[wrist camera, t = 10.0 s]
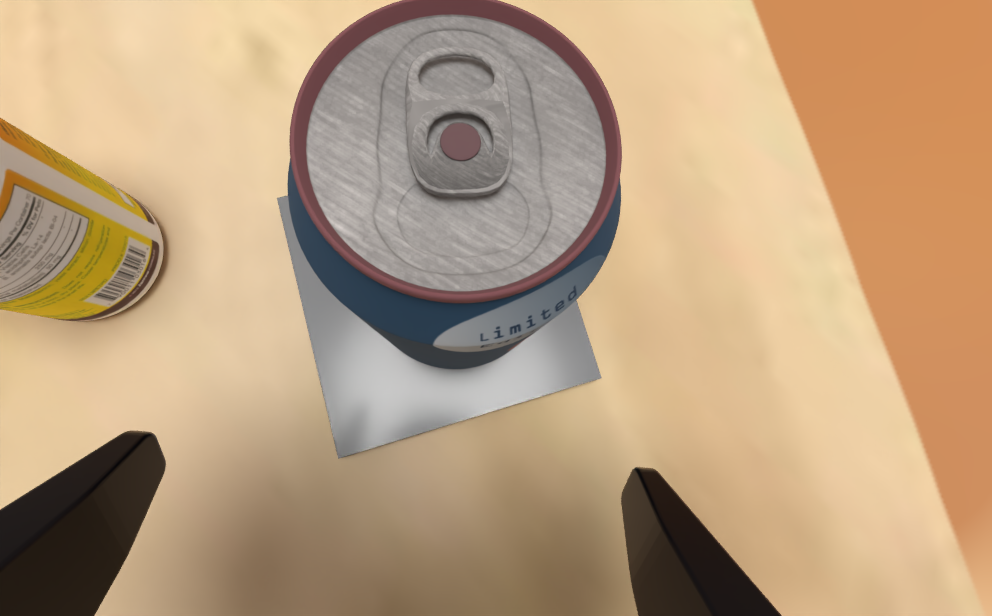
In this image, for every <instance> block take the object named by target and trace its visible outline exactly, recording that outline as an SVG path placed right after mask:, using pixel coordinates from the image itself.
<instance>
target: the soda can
mask: <svg viewBox="0 0 992 616" xmlns="http://www.w3.org/2000/svg"><path fill="white" fill-rule="evenodd" d="M290 157H291V158H290V164H289V171H288V201H289V209H290V214H291V219H292V224H293V227H294V230H295V234H296V237H297V239H298V242H299V244H300V247H301V249H302V251H303V253H304V255H305V257H306V259H307V261H308V263H309V264H310V266H311V268H312V269H313V271H314V272H315V274H316V275H317V276H318V278H319V279H320V281H321V282H322V283H323V284H324V285H325V287H326V288H327V289H328V290H329V291H330V292H331V293H332V294H333V295H334V296H335V297H336V298H337V299H338V300H339V301H340V302H341V303H342V304H343V305H345V306H346V307H347V308H348V309H349V310H351V311H352V312H353V313H354V314H355V315H357V316H358V317H359V318H360V319H362V320H363V321H364V322H365V323H367V324H368V325H369V326H370V327H372V328H373V329H374V330H375V331H377V332H378V333H379V334H380V335H381V336H383V337H384V338H385V339H386V340H388V341H389V342H390V343H391V344H393V345H394V346H395V347H396V348H398V349H399V350H400V351H401V352H403V353H404V354H406V355H407V356H409V357H411V358H413V359H415V360H417V361H419V362H421V363H424V364H427V365H430V366H434V367H438V368H445V369H466V368H472V367H477V366H481V365H484V364H487V363H489V362H492V361H494V360H496V359H498V358H500V357H502V356H503V355H505V354H506V353H508V352H509V351H510V350H512V349H513V348H515V347H516V346H517V345H519V344H520V343H521V342H523V341H524V340H525V339H527V338H528V337H529V336H531V335H532V334H533V333H535V332H536V331H537V330H539V329H540V328H542V327H543V326H544V325H546V324H547V323H548V322H550V321H551V320H552V319H554V318H555V317H556V316H558V315H559V314H560V313H562V312H563V311H564V310H566V309H567V308H568V307H569V306H570V305H571V304H572V303H573V302H574V301H576V300H577V299H578V297H579V296H580V295H581V294H582V293H583V292H584V291H585V290H586V289H587V287H588V286H589V285H590V283H591V282H592V281H593V279H594V278H595V276H596V275H597V273H598V272H599V270H600V269H601V267H602V265H603V263H604V261H605V260H606V257H607V255H608V253H609V251H610V249H611V246H612V243H613V240H614V237H615V234H616V230H617V226H618V221H619V215H620V205H621V186H620V172H621V161H622V147H621V137H620V130H619V125H618V121H617V117H616V113H615V110H614V107H613V104H612V101H611V98H610V96H609V94H608V91H607V89H606V87H605V85H604V83H603V81H602V80H601V78H600V76H599V75H598V73H597V71H596V70H595V68H594V67H593V66H592V64H591V63H590V62H589V60H588V59H587V58H586V57H585V55H584V54H583V53H582V52H581V51H580V50H579V49H578V48H577V47H576V46H575V45H574V44H573V43H572V42H571V41H570V40H569V39H568V38H567V37H566V36H565V35H563V34H562V33H561V32H560V31H558V30H557V29H556V28H554V27H553V26H551V25H550V24H548V23H547V22H545V21H544V20H542V19H540V18H539V17H537V16H535V15H533V14H531V13H529V12H527V11H525V10H523V9H520V8H518V7H516V6H513V5H510V4H507V3H504V2H501V1H498V0H402V1H399V2H395V3H392V4H390V5H387V6H384V7H382V8H380V9H377V10H375V11H373V12H371V13H369V14H367V15H366V16H364V17H362V18H360V19H359V20H357V21H356V22H354V23H353V24H351V25H350V26H349V27H347V28H346V29H345V30H344V31H342V32H341V33H340V34H339V35H338V36H337V37H336V38H335V39H333V40H332V41H331V42H330V43H329V45H328V46H327V47H326V48H325V49H324V50H323V51H322V53H321V54H320V55H319V56H318V58H317V59H316V60H315V62H314V64H313V65H312V67H311V68H310V70H309V72H308V73H307V75H306V77H305V79H304V81H303V83H302V86H301V88H300V90H299V93H298V96H297V99H296V102H295V106H294V110H293V114H292V120H291V127H290Z"/></svg>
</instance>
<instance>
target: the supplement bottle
mask: <svg viewBox="0 0 992 616" xmlns="http://www.w3.org/2000/svg"><path fill="white" fill-rule="evenodd" d="M162 260H163V240H162V235H161V232H160V228H159V226H158V224H157V222H156V220H155V219H154V217H153V216H152V214H151V213H150V212H149V211H148V210H147V209H146V208H145V207H144V206H143V205H142V204H141V203H140V202H138V201H137V200H136V199H134V198H133V197H131V196H130V195H128V194H127V193H125V192H123V191H122V190H120V189H118V188H117V187H115V186H113V185H112V184H110V183H108V182H107V181H105V180H103V179H102V178H100V177H98V176H96V175H95V174H93V173H91V172H90V171H88V170H86V169H85V168H83V167H81V166H80V165H78V164H76V163H75V162H73V161H72V160H70V159H68V158H67V157H65V156H63V155H61V154H60V153H58V152H56V151H55V150H53V149H51V148H50V147H48V146H46V145H45V144H43V143H41V142H40V141H38V140H36V139H34V138H33V137H31V136H29V135H28V134H26V133H24V132H23V131H21V130H20V129H18V128H16V127H15V126H13V125H11V124H9V123H8V122H6V121H5V120H3V119H1V118H0V309H3V310H8V311H14V312H19V313H25V314H31V315H37V316H42V317H48V318H54V319H59V320H68V321H90V320H97V319H102V318H105V317H109V316H111V315H114V314H117V313H119V312H121V311H123V310H125V309H126V308H128V307H130V306H131V305H133V304H134V303H135V302H137V301H138V300H139V299H140V298H141V297H142V296H143V295H144V294H145V293H146V292H147V291H148V290H149V288H150V287H151V286H152V284H153V282H154V281H155V279H156V277H157V275H158V273H159V270H160V267H161V264H162Z"/></svg>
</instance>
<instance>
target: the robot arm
mask: <svg viewBox="0 0 992 616" xmlns="http://www.w3.org/2000/svg"><path fill="white" fill-rule="evenodd" d="M165 466H166V462H165V458H164V455H163V453H162V450H161V448H160V445H159V443H158V440H157V438H156V436H155V435H154V434H153V433H152V432H144V431H127V432H125V433H122V434H121V435H119V436H117V437H116V438H114V439H113V440H111V441H109V442H108V443H106V444H105V445H103V446H101V447H100V448H98V449H97V450H95V451H93V452H92V453H90V454H89V455H87V456H85V457H84V458H82V459H81V460H79V461H77V462H76V463H74V464H73V465H71V466H69V467H68V468H66V469H65V470H63V471H61V472H60V473H58V474H57V475H55V476H53V477H52V478H50V479H49V480H47V481H45V482H44V483H42V484H41V485H39V486H37V487H36V488H34V489H33V490H31V491H29V492H28V493H26V494H25V495H23V496H21V497H20V498H18V499H17V500H15V501H13V502H12V503H10V504H9V505H7V506H5V507H4V508H2V509H1V510H0V616H94V615H95V613H96V612H97V610H98V608H99V606H100V604H101V603H102V601H103V599H104V597H105V596H106V594H107V592H108V590H109V588H110V587H111V585H112V583H113V581H114V580H115V578H116V576H117V574H118V573H119V571H120V569H121V567H122V565H123V563H124V561H125V560H126V558H127V556H128V554H129V551H130V549H131V547H132V545H133V543H134V541H135V538H136V536H137V534H138V532H139V529H140V527H141V525H142V522H143V520H144V518H145V516H146V513H147V511H148V509H149V506H150V504H151V502H152V500H153V497H154V495H155V493H156V491H157V488H158V486H159V484H160V481H161V479H162V477H163V474H164V471H165ZM621 505H622V513H623V521H624V529H625V537H626V546H627V554H628V562H629V570H630V577H631V583H632V588H633V593H634V598H635V602H636V607H637V611H638V615H639V616H782V615H781V614H780V613H779V612H778V611H777V610H776V608H775V607H774V606H773V605H772V604H771V603H770V601H769V600H768V599H767V598H766V597H765V596H764V595H763V593H762V592H761V591H760V590H759V589H758V588H757V586H756V585H755V584H754V583H753V582H752V581H751V579H750V578H749V577H748V576H747V575H746V574H745V572H744V571H743V570H742V569H741V568H740V567H739V565H738V564H737V563H736V562H735V561H734V560H733V558H732V557H731V556H730V555H729V554H728V553H727V551H726V550H725V549H724V548H723V547H722V546H721V544H720V543H719V542H718V541H717V540H716V539H715V538H714V536H713V535H712V534H711V533H710V532H709V531H708V529H707V528H706V527H705V526H704V525H703V524H702V522H701V521H700V520H699V519H698V518H697V517H696V515H695V514H694V513H693V512H692V511H691V510H690V508H689V507H688V506H687V505H686V504H685V503H684V501H683V500H682V499H681V498H680V497H679V496H678V494H677V493H676V492H675V491H674V490H673V489H672V488H671V486H670V485H669V484H668V483H667V482H666V481H665V479H664V478H663V477H662V476H661V475H660V474H659V472H658V471H656V470H655V469H652V468H641V467H636V468H634V469H633V470H632V472H631V474H630V476H629V478H628V480H627V483H626V485H625V487H624V489H623V492H622V496H621Z"/></svg>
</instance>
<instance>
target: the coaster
mask: <svg viewBox="0 0 992 616" xmlns="http://www.w3.org/2000/svg"><path fill="white" fill-rule="evenodd" d="M277 200H278V204H279V209H280V213H281V217H282V221H283V226H284V230H285V234H286V238H287V243H288V247H289V251H290V255H291V260H292V264H293V268H294V272H295V277H296V281H297V285H298V289H299V294H300V298H301V302H302V306H303V311H304V315H305V319H306V323H307V328H308V332H309V336H310V340H311V345H312V349H313V353H314V357H315V362H316V366H317V370H318V374H319V378H320V383H321V387H322V391H323V395H324V400H325V404H326V408H327V412H328V417H329V421H330V425H331V429H332V434H333V438H334V442H335V446H336V451H337V455H338V459H339V458H342V457H345V456H348V455H352V454H355V453H358V452H361V451H365V450H368V449H371V448H375V447H378V446H381V445H384V444H388V443H391V442H394V441H397V440H401V439H404V438H407V437H410V436H414V435H417V434H420V433H424V432H427V431H430V430H433V429H437V428H440V427H443V426H446V425H450V424H453V423H456V422H459V421H463V420H466V419H469V418H473V417H476V416H479V415H482V414H486V413H489V412H492V411H495V410H499V409H502V408H505V407H509V406H512V405H515V404H518V403H522V402H525V401H528V400H531V399H535V398H538V397H541V396H544V395H548V394H551V393H554V392H558V391H561V390H564V389H567V388H571V387H574V386H577V385H580V384H584V383H587V382H590V381H593V380H597V379H600V378H601V375H600V372H599V369H598V366H597V363H596V359H595V356H594V353H593V350H592V347H591V344H590V341H589V338H588V335H587V332H586V328H585V325H584V322H583V319H582V316H581V313H580V310H579V307H578V304H577V301H574V302H573V303H572V304H571V305H570V306H569V307H568V308H567V309H566V310H564V311H563V312H562V313H560V314H559V315H558V316H556V317H555V318H554V319H552V320H551V321H550V322H548V323H547V324H546V325H544V326H543V327H542V328H540V329H539V330H537V331H536V332H535V333H533V334H532V335H531V336H529V337H528V338H527V339H525V340H524V341H523V342H521V343H520V344H519V345H517V346H516V347H515V348H513V349H512V350H510V351H509V352H508V353H506V354H505V355H503V356H502V357H500V358H498V359H496V360H494V361H492V362H489V363H487V364H484V365H481V366H477V367H472V368H466V369H445V368H438V367H434V366H430V365H427V364H424V363H421V362H419V361H417V360H415V359H413V358H411V357H409V356H407V355H406V354H404V353H403V352H401V351H400V350H399V349H398V348H396V347H395V346H394V345H393V344H391V343H390V342H389V341H388V340H386V339H385V338H384V337H383V336H381V335H380V334H379V333H378V332H377V331H375V330H374V329H373V328H372V327H370V326H369V325H368V324H367V323H365V322H364V321H363V320H362V319H360V318H359V317H358V316H357V315H355V314H354V313H353V312H352V311H351V310H349V309H348V308H347V307H346V306H345V305H343V304H342V303H341V302H340V301H339V300H338V299H337V298H336V297H335V296H334V295H333V294H332V293H331V292H330V291H329V290H328V289H327V288H326V287H325V285H324V284H323V283H322V282H321V281H320V279H319V278H318V276H317V275H316V274H315V272H314V271H313V269H312V268H311V266H310V264H309V263H308V261H307V259H306V257H305V255H304V253H303V251H302V249H301V247H300V244H299V242H298V239H297V237H296V234H295V230H294V227H293V224H292V219H291V214H290V209H289V201H288V196H284V197H280V198H277Z"/></svg>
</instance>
